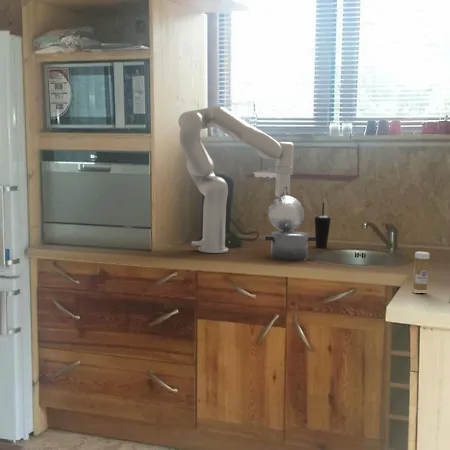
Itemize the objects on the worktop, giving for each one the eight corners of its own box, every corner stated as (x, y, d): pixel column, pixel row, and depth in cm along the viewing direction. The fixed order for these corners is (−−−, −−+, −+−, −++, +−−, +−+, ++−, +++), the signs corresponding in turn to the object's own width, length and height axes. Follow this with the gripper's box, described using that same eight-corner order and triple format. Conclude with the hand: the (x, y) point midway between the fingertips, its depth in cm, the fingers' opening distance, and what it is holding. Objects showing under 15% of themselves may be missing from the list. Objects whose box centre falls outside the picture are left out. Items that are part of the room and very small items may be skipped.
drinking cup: (329, 245, 321) (331, 202, 318) (330, 248, 313) (332, 204, 311) (312, 245, 322) (314, 201, 319) (312, 247, 314) (315, 203, 312)
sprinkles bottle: (418, 294, 227) (421, 253, 225) (409, 291, 231) (412, 251, 229) (429, 293, 229) (432, 253, 227) (420, 290, 233) (423, 250, 231)
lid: (268, 195, 296) (267, 197, 299) (269, 230, 293) (267, 231, 296) (303, 196, 297) (302, 197, 300) (304, 231, 294) (302, 232, 297)
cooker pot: (266, 260, 279) (267, 235, 278) (260, 253, 295) (261, 229, 294) (318, 261, 281) (319, 236, 280) (309, 254, 297) (310, 230, 296)
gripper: (272, 169, 310) (270, 210, 312) (278, 171, 295) (276, 214, 297) (289, 170, 310) (287, 211, 313) (296, 172, 296) (294, 215, 298)
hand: (282, 212), depth 305 cm, fingers closed
